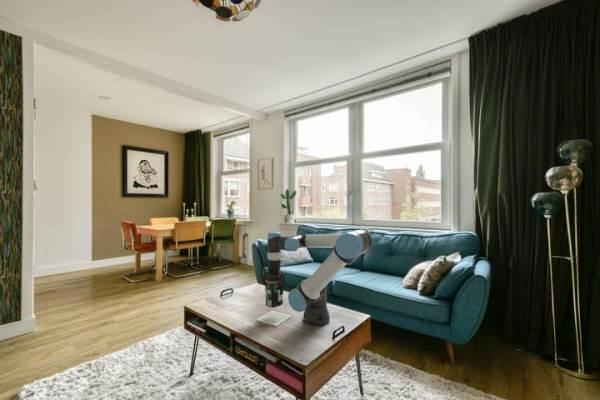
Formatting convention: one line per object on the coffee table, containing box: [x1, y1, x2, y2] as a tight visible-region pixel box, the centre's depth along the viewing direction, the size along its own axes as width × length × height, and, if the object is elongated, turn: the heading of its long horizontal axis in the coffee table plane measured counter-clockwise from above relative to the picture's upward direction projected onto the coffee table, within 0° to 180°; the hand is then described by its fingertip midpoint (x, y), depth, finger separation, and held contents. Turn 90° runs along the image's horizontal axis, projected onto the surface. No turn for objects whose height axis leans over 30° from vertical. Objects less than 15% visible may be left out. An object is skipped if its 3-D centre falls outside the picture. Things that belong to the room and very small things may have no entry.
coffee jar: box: [265, 273, 284, 309], centre depth 156 cm, size 10×8×19 cm
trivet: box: [256, 310, 292, 328], centre depth 156 cm, size 14×14×1 cm
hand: (274, 298), depth 156 cm, fingers closed on coffee jar, 8 cm apart
